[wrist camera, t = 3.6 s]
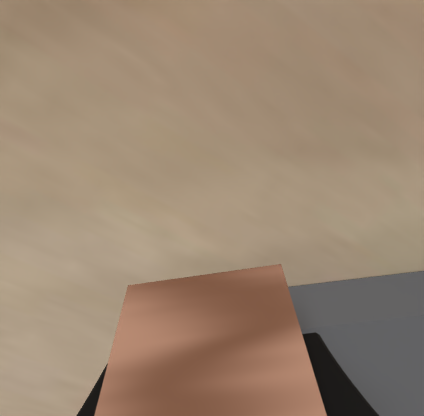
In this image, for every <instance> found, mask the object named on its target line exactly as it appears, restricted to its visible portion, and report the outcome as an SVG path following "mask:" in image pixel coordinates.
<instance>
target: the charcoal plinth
mask: <svg viewBox="0 0 424 416" xmlns="http://www.w3.org/2000/svg"><path fill="white" fill-rule="evenodd" d="M288 289H289V292H290V296H291V299H292V302H293V306H294V309H295V312H296V316H297V319H298V322H299V325H300V329H301V332H302V334H306V333H314V332H316V333H318V334H319V335H320V336H321V338H322V340H323V341H324V343H325V345H326V346H327V348H328V349H329V351H330V352H331V354H332V355H333V357H334V358H335V360H336V361H337V363H338V364H339V365H340V367H341V368H342V370H343V371H344V372H345V374H346V375H347V376H348V378H349V379H350V380H351V382H352V383H353V384H354V385H355V387H356V388H357V389H358V390H359V392H360V393H361V394H362V395H363V397H364V398H365V399H366V400H367V402H368V403H369V404H370V405H371V407H372V408H373V409H374V410H375V411H376V413H377V414H378V415H379V416H424V271H419V272H411V273H402V274H394V275H385V276H377V277H368V278H360V279H351V280H343V281H335V282H326V283H318V284H309V285H301V286H292V287H288Z"/></svg>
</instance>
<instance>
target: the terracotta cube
mask: <svg viewBox="0 0 424 416" xmlns="http://www.w3.org/2000/svg"><path fill="white" fill-rule="evenodd" d="M94 416H327V414H326V411H325V408H324V405H323V401H322V398H321V395H320V391H319V388H318V385H317V381H316V378H315V375H314V372H313V368H312V365H311V362H310V358H309V355H308V352H307V349H306V345H305V342H304V339H303V335H302V332H301V329H300V325H299V322H298V319H297V316H296V312H295V309H294V306H293V302H292V299H291V296H290V292H289V289H288V286H287V283H286V279H285V276H284V273H283V269H282V266H281V264H278V265H271V266H264V267H257V268H250V269H242V270H235V271H228V272H221V273H214V274H207V275H199V276H192V277H185V278H178V279H171V280H164V281H156V282H149V283H142V284H135V285H128V288H127V291H126V295H125V299H124V303H123V307H122V311H121V315H120V319H119V322H118V326H117V330H116V334H115V338H114V342H113V346H112V349H111V353H110V357H109V361H108V365H107V369H106V373H105V377H104V380H103V384H102V388H101V392H100V396H99V400H98V404H97V407H96V411H95V415H94Z"/></svg>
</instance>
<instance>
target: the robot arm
mask: <svg viewBox="0 0 424 416" xmlns="http://www.w3.org/2000/svg"><path fill="white" fill-rule="evenodd" d="M302 335H303V339H304V342H305V345H306V349H307V352H308V355H309V358H310V362H311V365H312V368H313V372H314V375H315V378H316V381H317V385H318V388H319V391H320V395H321V398H322V401H323V405H324V408H325V411H326V414H327V416H379V415H378V414H377V413H376V411H375V410H374V409H373V408H372V407H371V405H370V404H369V403H368V402H367V400H366V399H365V398H364V397H363V395H362V394H361V393H360V392H359V390H358V389H357V388H356V387H355V385H354V384H353V383H352V382H351V380H350V379H349V378H348V376H347V375H346V374H345V372H344V371H343V370H342V368H341V367H340V365H339V364H338V363H337V361H336V360H335V358H334V357H333V355H332V354H331V352H330V351H329V349H328V348H327V346H326V345H325V343H324V341H323V340H322V338H321V336H320V335H319V334H318V333H316V332H314V333H306V334H302ZM107 365H108V363H107ZM107 365H106V367H105V369H104V370H103V372H102V374H101V376H100V377H99V379H98V381H97V383H96V384H95V386H94V388H93V389H92V391H91V393H90V395H89V396H88V398H87V400H86V401H85V403H84V405H83V406H82V408H81V409H80V411H79V413H78V414H77V416H94V415H95V411H96V407H97V404H98V400H99V396H100V392H101V388H102V384H103V380H104V377H105V373H106V369H107Z"/></svg>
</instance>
